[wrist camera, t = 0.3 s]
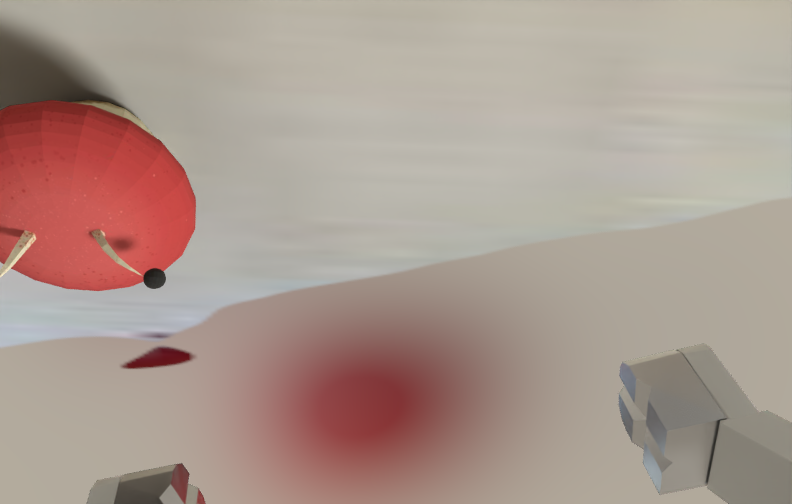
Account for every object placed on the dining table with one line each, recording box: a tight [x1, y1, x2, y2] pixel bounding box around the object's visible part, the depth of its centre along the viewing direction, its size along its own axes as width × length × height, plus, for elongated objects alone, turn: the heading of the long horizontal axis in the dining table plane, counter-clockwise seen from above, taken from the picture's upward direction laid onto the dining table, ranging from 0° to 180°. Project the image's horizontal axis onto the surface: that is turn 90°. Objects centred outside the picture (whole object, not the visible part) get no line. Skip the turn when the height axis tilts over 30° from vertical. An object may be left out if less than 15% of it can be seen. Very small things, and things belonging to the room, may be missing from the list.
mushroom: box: [0, 100, 196, 291], centre depth 46 cm, size 16×16×15 cm
